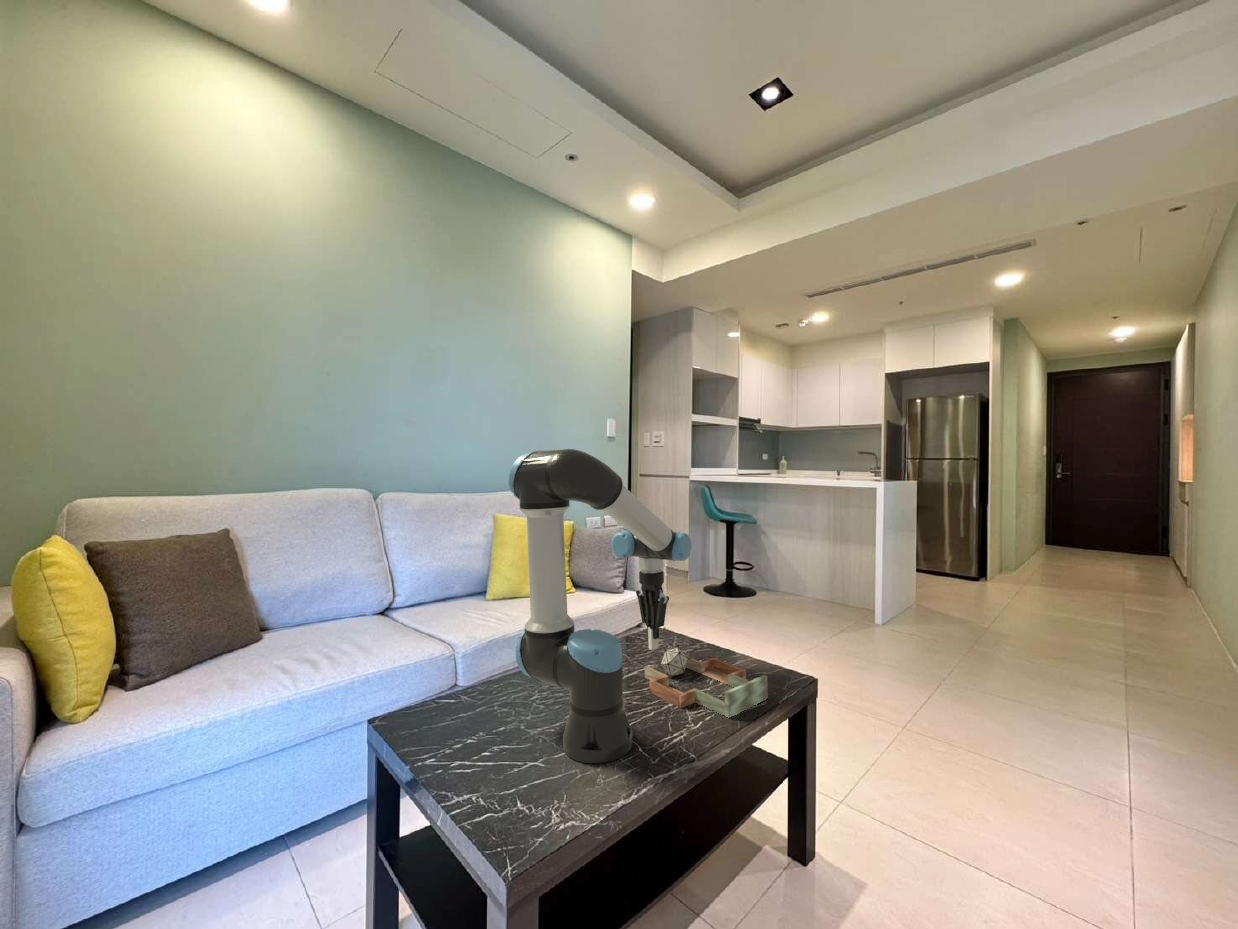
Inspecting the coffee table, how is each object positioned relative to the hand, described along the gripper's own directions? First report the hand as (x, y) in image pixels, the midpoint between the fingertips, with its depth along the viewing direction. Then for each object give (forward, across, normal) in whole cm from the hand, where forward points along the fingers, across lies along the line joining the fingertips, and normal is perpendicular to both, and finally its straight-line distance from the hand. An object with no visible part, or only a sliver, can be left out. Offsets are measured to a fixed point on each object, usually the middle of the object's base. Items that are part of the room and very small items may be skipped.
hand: (653, 648), depth 151 cm
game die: (+6, -9, 0) cm, 11 cm away
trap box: (+5, -20, 0) cm, 20 cm away
